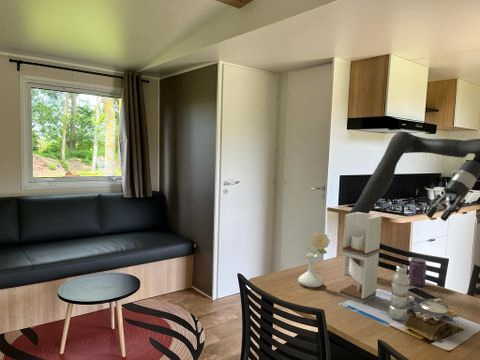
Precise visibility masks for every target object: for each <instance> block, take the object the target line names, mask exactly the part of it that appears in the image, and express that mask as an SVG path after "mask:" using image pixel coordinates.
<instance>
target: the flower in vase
mask: <svg viewBox="0 0 480 360" xmlns="http://www.w3.org/2000/svg"><path fill="white" fill-rule="evenodd" d="M330 241H331V240H330V239H329V236H328V235H327V234H326V233H324V232H321V231H319V232H316V233H313V234H312V236H311V244H312V247H314V248H315V249H316V250H315V251H314V250H313V249H310V248H307V250H309V251H311V252H312V253H307V254H306V257H307V259H308V270H307V271H306V272H304V273H303V274H301V275H300V276H299V277H298V279H297V281H298V284H300V285H303V286H305V287H309V288H317V287H321V286H323V285H324V280H323V279H322V277H321V276H319V275H318V274H317V273H316V272H315V262H316V259H317V258H318V254H316V253H317V252H318V253H319V254H321V255H325V254H328V252H327V250H325V249H327V248H328V246H329V243H330Z"/></svg>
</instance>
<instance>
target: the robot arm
mask: <svg viewBox="0 0 480 360" xmlns="http://www.w3.org/2000/svg"><path fill="white" fill-rule="evenodd" d="M412 153H413V154H414V153H415V154H416V153H418V154H419V153H423V154H424V153H425V154H433V155H438V156H439V155H440V156H444V157H445V156H446V157H454V158H463V159H464V158H465V157H467V156H468V155H469V154H471V155H472V154H473V155H474V157H473V158H472V159H468V160H466V161H465V162H464V163H463V164H462V165H461V167H460V168H459V169H458V170H457V172H455V174H454V175H453V176H452V177H451V179H449V181H448V182H447V184H446V185H445V187H444V188H443V191H444V194H442V195H441V194H440V193H438V194H436V196H435V197H434V198H433V199H432V200H431V202H430V203H429V204H428V206H429V207H430V209H429V210H428V211H427V213H426V217H428V218H429V219H432V218H433V217H434V216H435V214H436V213H437V211H439V210H440V209H444V208H446V209H445V210H444V211H443V213H442V214H441V215H440V219H441V220H442V221H444V222H447V220H448V219H449V217H451V215H452V214H454V213H455V214H457V213H459V211H461V208H462V207H463V206H464V204H465V203H466V199H465V198H466V196H467V195H468V194H469V192H470V191H471V190H472V188H473V187H474V186H475V183H476V182H477V180H478V179H479V178H480V138H474V139H473V138H472V139H465V140H461V139H453V138H452V139H451V138H425V137H421V136H419V135H418V136H417V135H414V134H412V133H410V132H408V131H398V132H396V133H394V135H393V136H392V137H391V139H390V141H389V143H388V146H386V150H385V151H384V153H383V156H382V158H381V160H380V161H379V162H378V164H377V166H376V168H375V170H374V171H373V173H372V174H371V175H370V176H371V177H369V179H368V181H367V183H366V185H365V186H364V189H363V190H362V192H361V193H360V196H359V198H358V200H357V201H356V203H355V204H354V205H353V207H352V208H351V210H349V212H348V214H351V213H356V212H361V213H367V214H370V212H371V210H372V208H373V207H374V206H376V204H377V203H378V202H379V201H380V199H381V198H382V197H383V196H384V195H385V194H386V192H387V191H388V189H389V188H390V186H391V184H392V183H393V179H394V177H395V172H396V169H397V165H398V163H399V161H400V159H401V158H402V156H403V155H404V154H412ZM344 262H345V264H344V275H345V276H348V277H352V276H351V275H350V273H349V263H350V257H349V256H345V261H344Z"/></svg>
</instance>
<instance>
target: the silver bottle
mask: <svg viewBox="0 0 480 360" xmlns="http://www.w3.org/2000/svg"><path fill="white" fill-rule="evenodd" d="M395 271H396V272H395V273H394V274H393V275H392V276H391V278H390V279H391V299H390V304H389V306H388V315H389V317H390V318H392V319H393V320H396V321H404V320H406V319H407V318H408V313H407V298H408V294H409V292H408V289H409V287H410V285H411V284H410V279H409V275H408V274H407V273H408V267H407V266H406V265H403V264H396V269H395Z"/></svg>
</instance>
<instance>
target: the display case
mask: <svg viewBox="0 0 480 360" xmlns="http://www.w3.org/2000/svg"><path fill="white" fill-rule="evenodd" d="M382 218H383V216H382V215H379V214H378V215H376V214H371V213H369V214H367V213H361V212H356V213H351V214H347V213H346V214H344V224H343V225H344V227H343V239H342V241H343V243H342V253H341V254H342V256H345V257H346V256H349V257H350V263H349V273H350V275H351V276H352V279H353V280H354V283H352V284H351V285H348V286H346V287H344V288H342V289H340V290H339V296H341V297H344V298H346V299H348V300H352V301H355V302H357V303H360V302H361V303H360V304H363V303H364V304H365V303H367V302H368V301H370V300H373V298H375V297H376V293H377V282H378V271H379V257H380V244H381V232H382V231H381V228H382ZM351 276H350V277H351Z"/></svg>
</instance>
